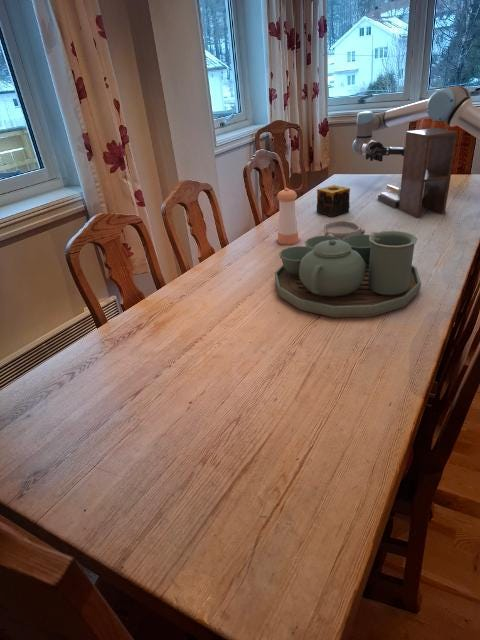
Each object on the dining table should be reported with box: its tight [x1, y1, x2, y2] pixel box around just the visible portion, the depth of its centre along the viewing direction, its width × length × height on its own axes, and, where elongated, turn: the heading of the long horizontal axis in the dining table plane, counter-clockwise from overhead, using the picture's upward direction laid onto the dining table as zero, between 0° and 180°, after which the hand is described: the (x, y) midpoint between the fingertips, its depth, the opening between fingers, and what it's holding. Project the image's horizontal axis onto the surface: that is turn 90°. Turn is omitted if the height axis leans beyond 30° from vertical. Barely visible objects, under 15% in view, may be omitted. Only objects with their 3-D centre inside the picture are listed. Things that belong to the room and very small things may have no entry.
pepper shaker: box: [276, 187, 299, 245], centre depth 153 cm, size 7×7×19 cm
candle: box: [316, 184, 351, 218], centre depth 181 cm, size 10×10×10 cm
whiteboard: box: [377, 190, 423, 209], centre depth 187 cm, size 15×14×3 cm
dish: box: [322, 220, 366, 241], centre depth 153 cm, size 14×14×5 cm
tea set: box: [274, 230, 422, 318], centre depth 119 cm, size 40×40×16 cm
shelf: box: [398, 127, 459, 218], centre depth 168 cm, size 14×12×30 cm
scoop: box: [386, 184, 401, 197], centre depth 187 cm, size 21×6×4 cm, turn 11°
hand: (396, 156), depth 185 cm, fingers open, 13 cm apart
